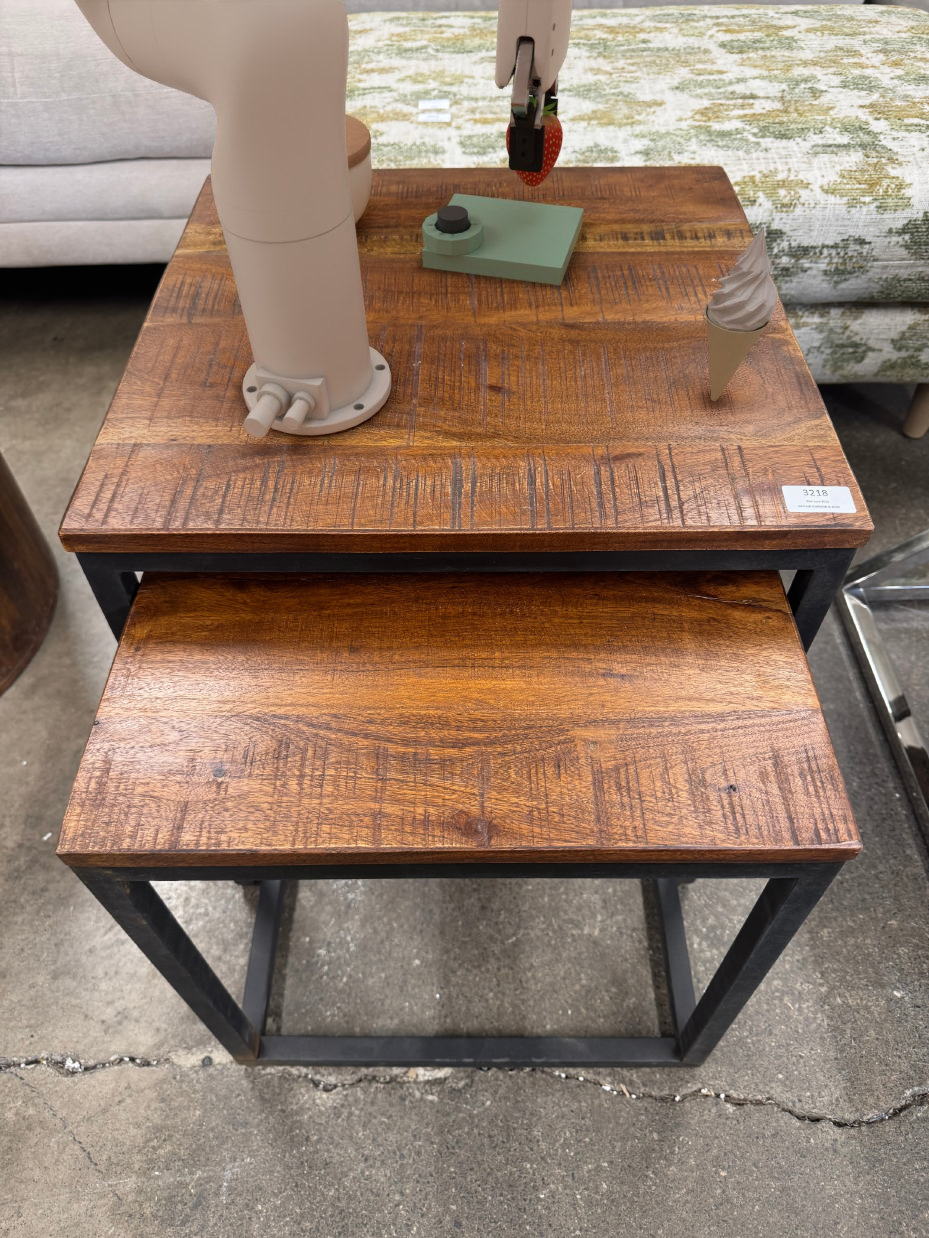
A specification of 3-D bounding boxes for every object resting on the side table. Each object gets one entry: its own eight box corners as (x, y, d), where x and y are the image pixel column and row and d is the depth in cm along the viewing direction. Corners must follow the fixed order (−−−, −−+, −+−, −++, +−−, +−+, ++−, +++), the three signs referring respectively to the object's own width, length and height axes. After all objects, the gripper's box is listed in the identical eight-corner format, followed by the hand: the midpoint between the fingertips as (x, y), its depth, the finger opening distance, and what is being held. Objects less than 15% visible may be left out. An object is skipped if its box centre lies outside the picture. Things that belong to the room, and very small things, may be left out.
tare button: (463, 237, 82) (463, 222, 81) (434, 234, 83) (433, 218, 81) (471, 222, 84) (471, 207, 83) (442, 219, 84) (441, 203, 83)
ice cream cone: (734, 425, 69) (787, 250, 57) (675, 407, 71) (715, 232, 59) (752, 391, 72) (807, 217, 60) (695, 374, 73) (737, 201, 62)
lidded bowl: (271, 199, 94) (250, 88, 85) (384, 199, 93) (374, 89, 85) (249, 258, 86) (223, 144, 77) (372, 259, 86) (360, 144, 77)
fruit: (503, 196, 82) (505, 106, 76) (506, 171, 85) (507, 83, 79) (559, 197, 82) (565, 107, 75) (559, 172, 85) (565, 83, 79)
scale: (559, 288, 82) (562, 254, 79) (417, 269, 84) (415, 235, 82) (582, 226, 89) (585, 192, 87) (450, 210, 92) (450, 177, 89)
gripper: (520, -113, 73) (514, 115, 87) (469, -54, 63) (472, 193, 77) (607, -109, 71) (586, 122, 86) (569, -47, 61) (552, 203, 76)
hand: (532, 154), depth 81 cm, fingers closed on fruit, 5 cm apart
